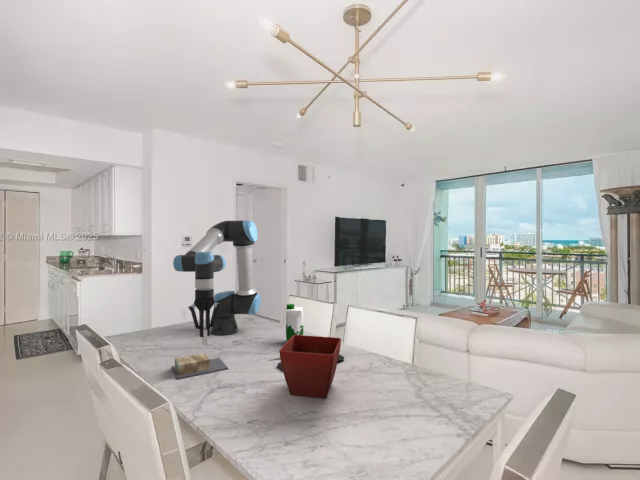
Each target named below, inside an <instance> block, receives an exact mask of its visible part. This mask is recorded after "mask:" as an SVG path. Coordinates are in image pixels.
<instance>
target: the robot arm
mask: <svg viewBox="0 0 640 480" xmlns="http://www.w3.org/2000/svg"><path fill="white" fill-rule="evenodd" d="M257 229H258V228H257V226H256V224H255V222H254V221H252V220H246V219H245V220H243V219H241V220H224V221H220V222H218V223H215V224H214V225H213V226H211V227H210V228H209V229H208V230H207V231H206V233H205V235H204V236H203V237H202V238H201V239H200V240H199V241H198V242H196V244H194V245H193V246H192V248H190V249H189V250H188V251H187V252H186V253H185V254H177V255H175V256H174V258H173V261H172V266H173V268H174V270H175V271H176V272H182V273H186V272H187V273H188V272H189V273H194V288H195V289H194V301H193V304H191V305H189V306H188V308H187V309H189V310H190V315H191V317H192V321H193V324H194V328H195V329H197V330H199V337H200V338H201V344H202V345H203V346H207V345H208V337H210V335H211V334H212V335H215V336H228V335H233V334H236V333H237V332H238V331H239V327H238V324H237V322H236V317H235V315H244V316H245V315H247V316H251V315H257V313H259V310H260V307H261V303H262V296H261V294H259V293H258V290H257V288H255V282H254V281H255V280H254V267H253V266H254V264H253V263H254V261H253V249H252V247H254V245H255V242H257V240H258V235H259V234H258V230H257ZM225 242H227V243H228V242H229V243H230V242H231V243H232V246H233V247H234V248H235V252H236V269H237V282H238V289H237V290H236V292H235V290H226V291H225V290H224V291H221V292H217V293H215V289H214V287H215V283H214V281H215V277H214V275H215V273H218V272H220V271H222V270H224V269H225V268H226V266H227V263H226V258H225V257H224V256H222V255H221V254H214V252H212V251H213V250H214V249H215V247H217V245H220V244H222V243H225ZM212 307H213V311H212V314H211V309H212ZM196 309H197V310H198V312H199V315H198V316H199V319H198V317H197V313H196ZM204 312H205V313H204ZM204 315H205V316H204ZM204 317H205V319H204ZM198 320H199V321H198ZM204 321H205V322H204ZM204 323H205V327H204Z"/></svg>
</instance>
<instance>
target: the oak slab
mask: <svg viewBox="0 0 640 480" xmlns="http://www.w3.org/2000/svg"><path fill="white" fill-rule="evenodd" d="M174 366H175V369H176V371H177V373H178V375H183V374H188V373H193V372H198V371H203V370H208V369H210V358H209V357H208V356H207V355H206V353H198V354H194V355H193V354H192V355H188V356H180V357H174Z"/></svg>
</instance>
